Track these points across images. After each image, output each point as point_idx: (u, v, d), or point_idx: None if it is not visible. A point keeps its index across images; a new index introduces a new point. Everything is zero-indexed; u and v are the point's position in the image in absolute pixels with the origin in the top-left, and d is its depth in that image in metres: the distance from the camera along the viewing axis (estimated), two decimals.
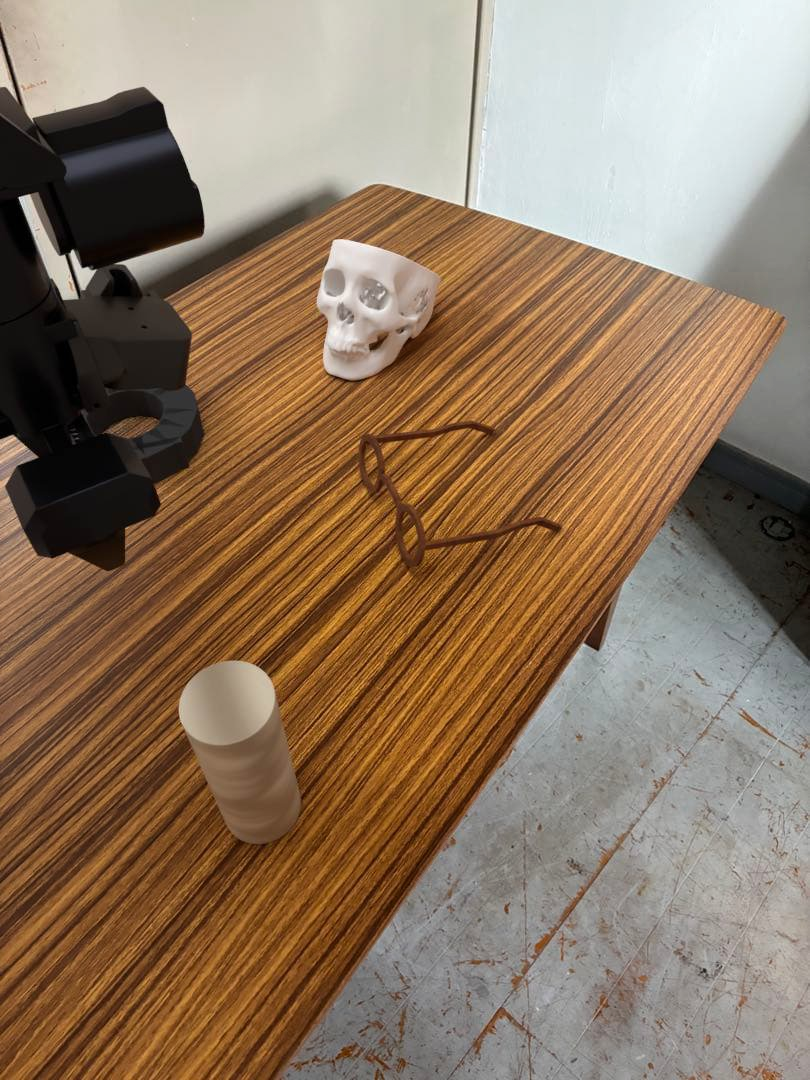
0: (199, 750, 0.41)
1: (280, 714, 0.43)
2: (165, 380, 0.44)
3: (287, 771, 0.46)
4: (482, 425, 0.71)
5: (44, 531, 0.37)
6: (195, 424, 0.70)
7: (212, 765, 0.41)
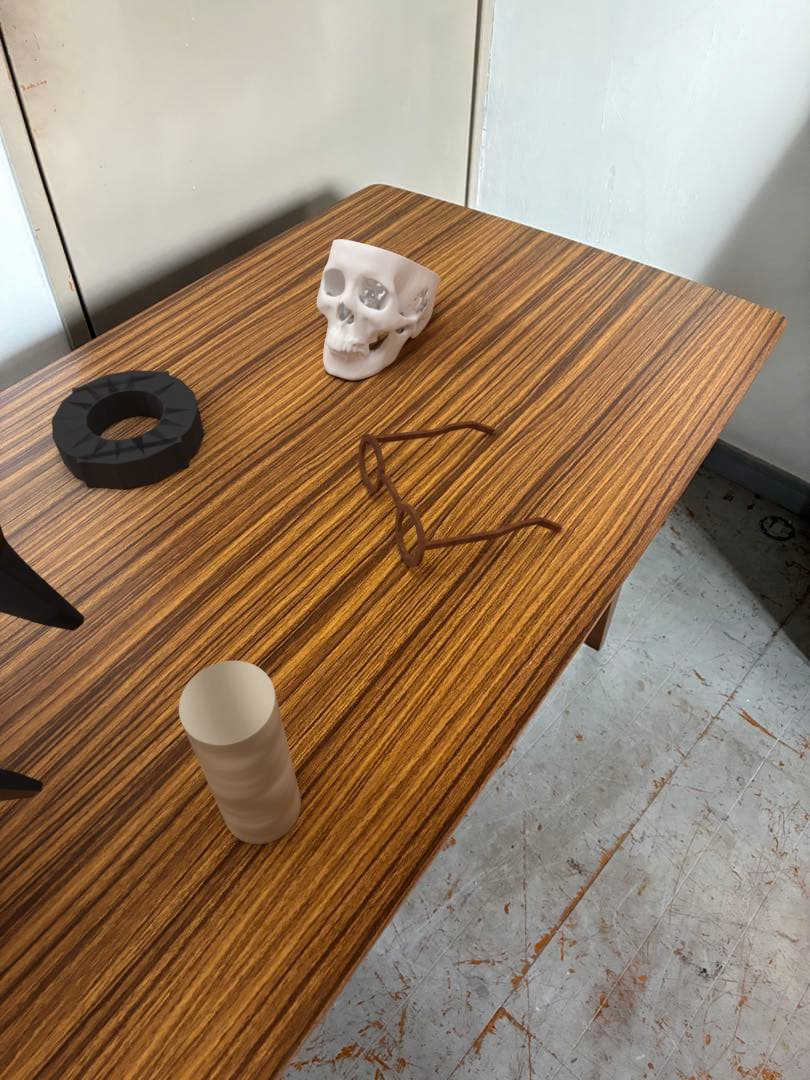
0: (199, 750, 0.41)
1: (280, 714, 0.43)
2: None
3: (287, 771, 0.46)
4: (482, 425, 0.71)
5: None
6: (195, 424, 0.70)
7: (212, 765, 0.41)
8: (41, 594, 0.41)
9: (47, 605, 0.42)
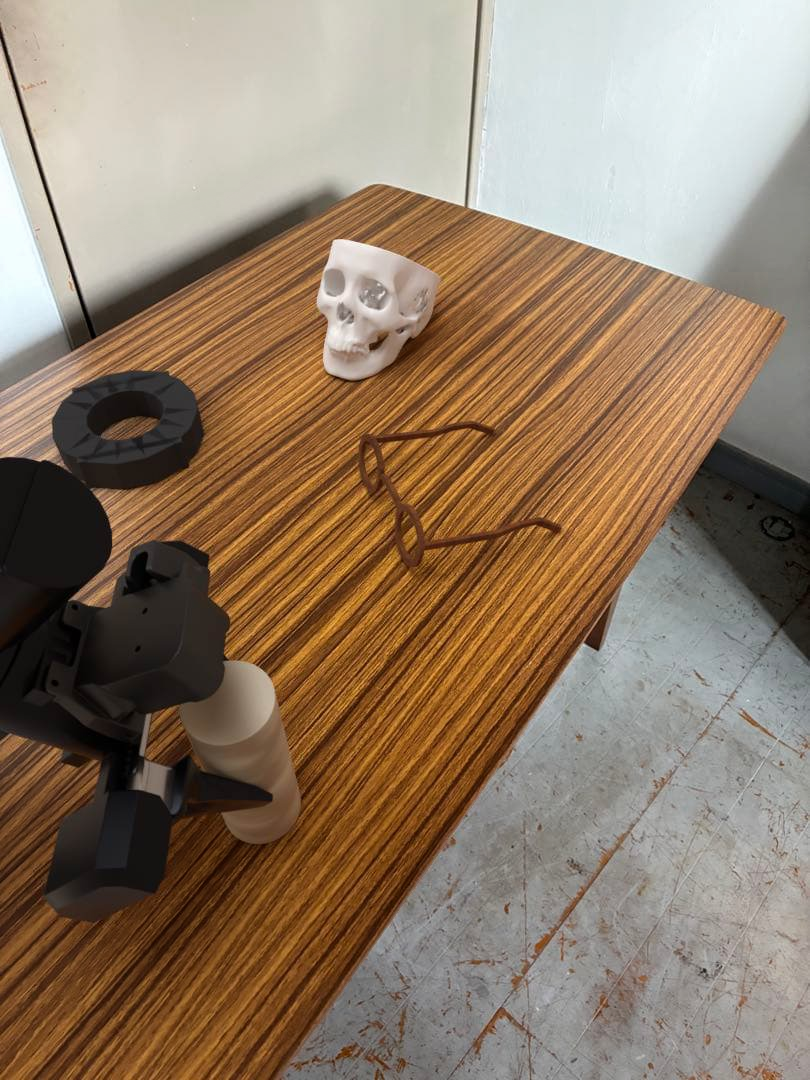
0: (199, 750, 0.41)
1: (280, 714, 0.43)
2: (184, 696, 0.36)
3: (287, 771, 0.46)
4: (482, 425, 0.71)
5: (58, 914, 0.36)
6: (195, 424, 0.70)
7: (212, 765, 0.41)
8: None
9: None
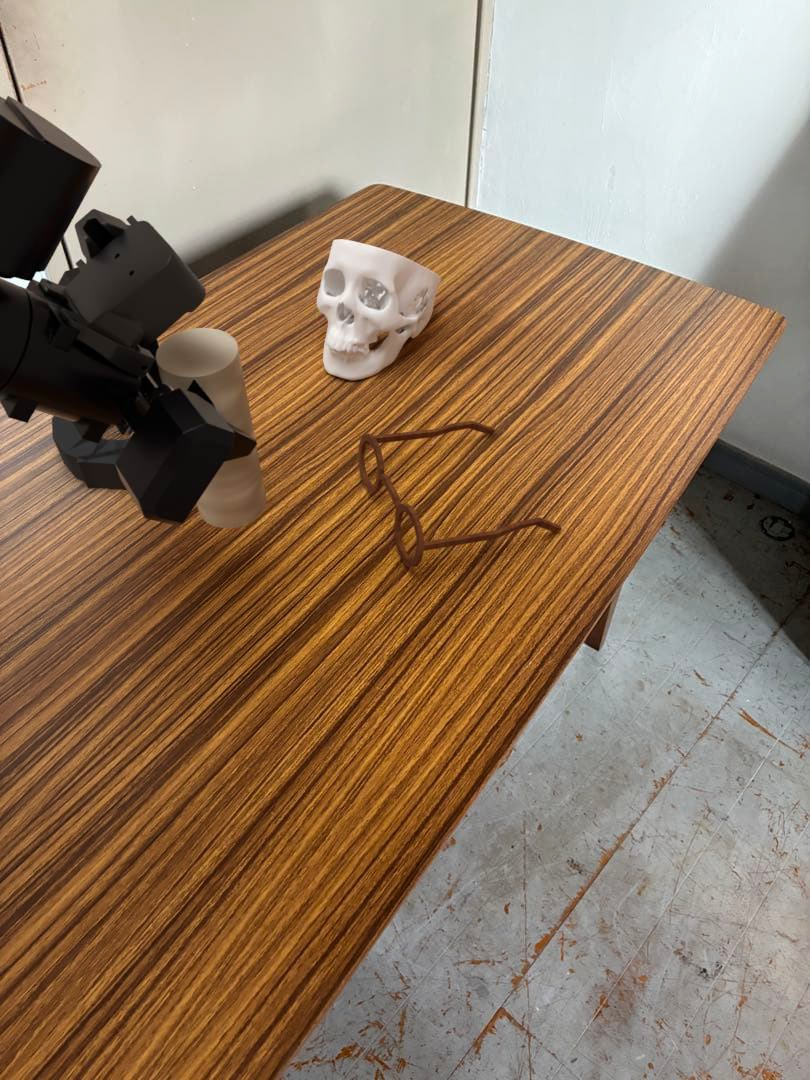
0: None
1: None
2: (183, 305, 0.43)
3: None
4: (482, 425, 0.71)
5: (156, 513, 0.42)
6: None
7: None
8: None
9: None
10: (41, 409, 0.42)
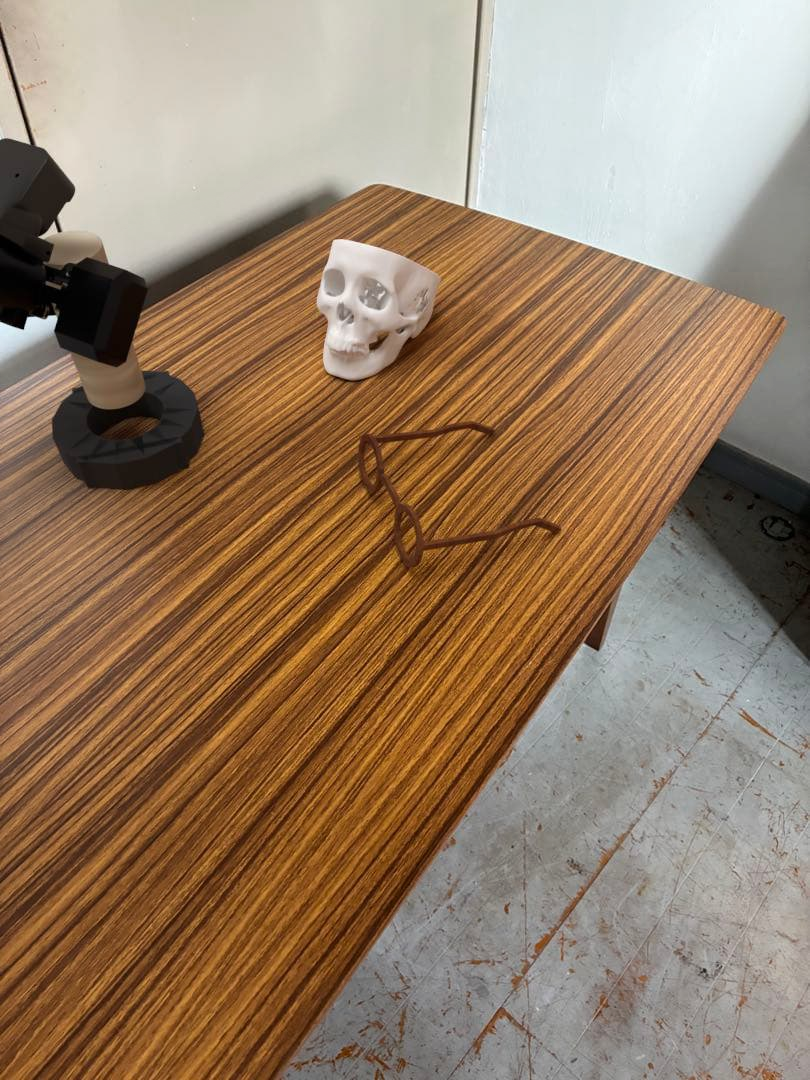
0: None
1: None
2: (63, 196, 0.54)
3: None
4: (482, 426, 0.71)
5: (108, 352, 0.53)
6: (195, 424, 0.70)
7: None
8: None
9: None
10: None
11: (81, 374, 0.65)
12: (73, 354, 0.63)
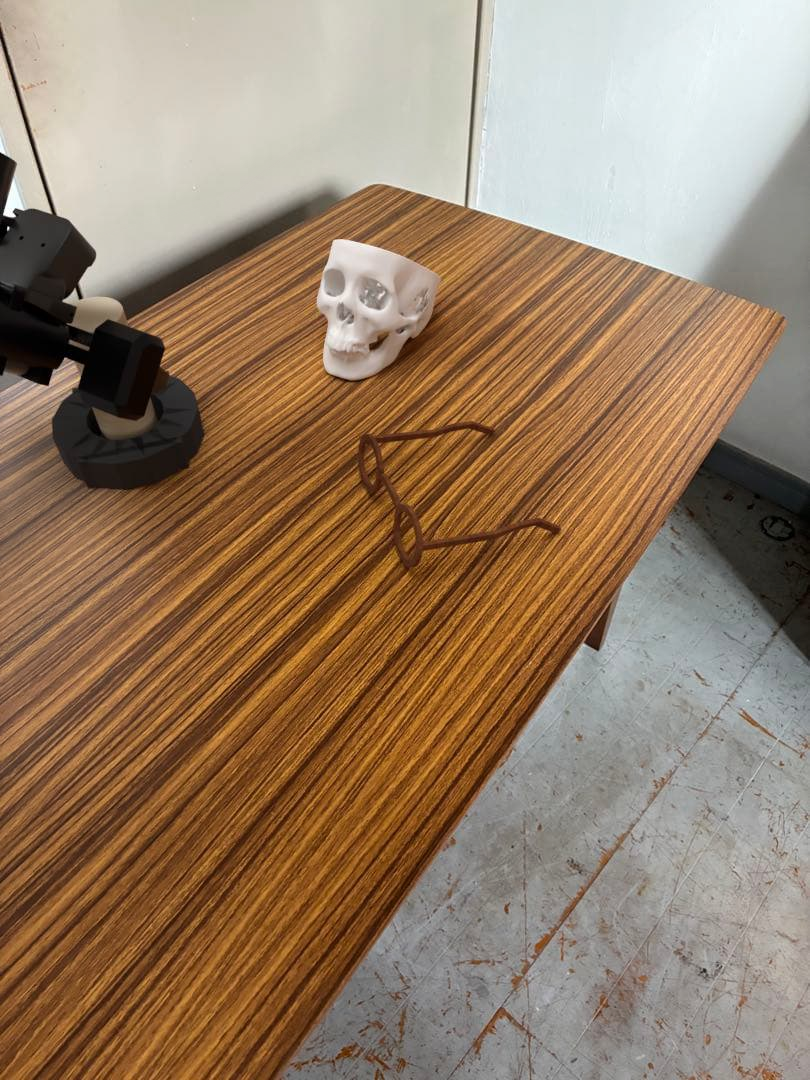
0: None
1: None
2: (85, 261, 0.57)
3: None
4: (482, 426, 0.71)
5: (128, 409, 0.56)
6: (195, 424, 0.70)
7: None
8: None
9: None
10: (6, 364, 0.55)
11: (102, 427, 0.69)
12: (95, 409, 0.68)
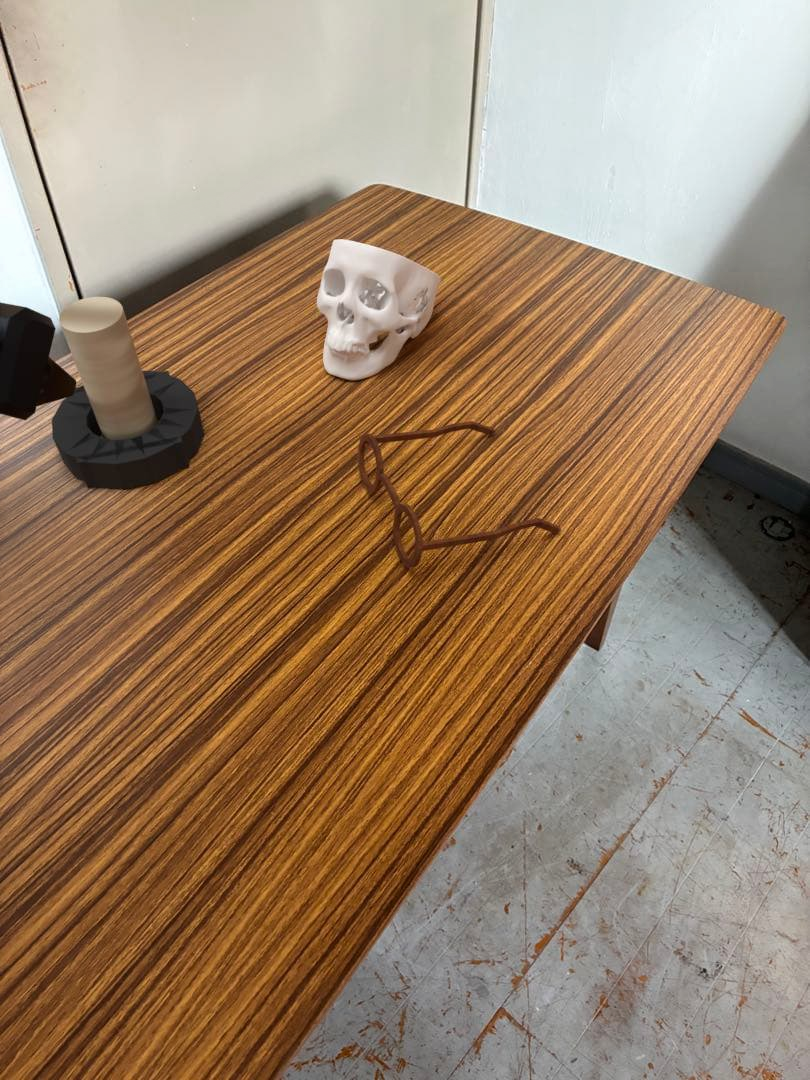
0: (102, 345, 0.62)
1: None
2: None
3: None
4: (482, 426, 0.71)
5: (11, 401, 0.46)
6: (195, 424, 0.70)
7: (113, 355, 0.63)
8: None
9: None
10: None
11: (102, 427, 0.69)
12: (95, 409, 0.68)
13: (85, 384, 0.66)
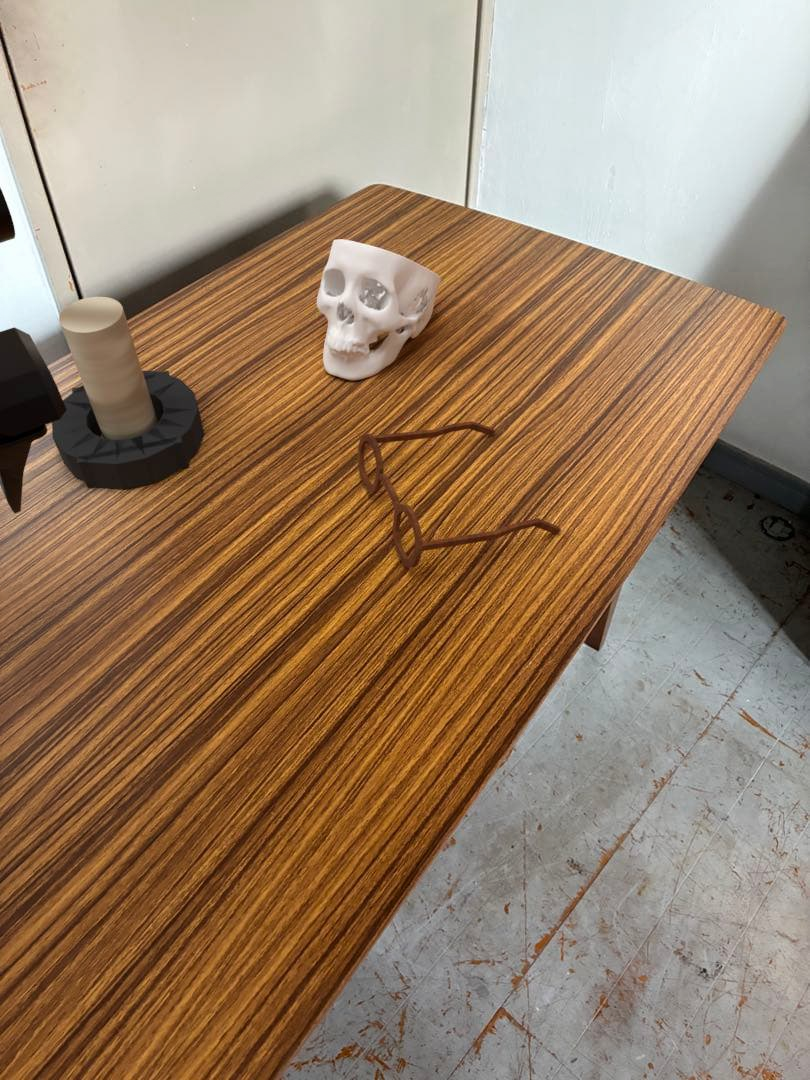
0: (102, 345, 0.62)
1: None
2: None
3: None
4: (482, 426, 0.71)
5: None
6: (195, 424, 0.70)
7: (113, 355, 0.63)
8: None
9: None
10: None
11: (102, 427, 0.69)
12: (95, 409, 0.68)
13: (85, 384, 0.66)
